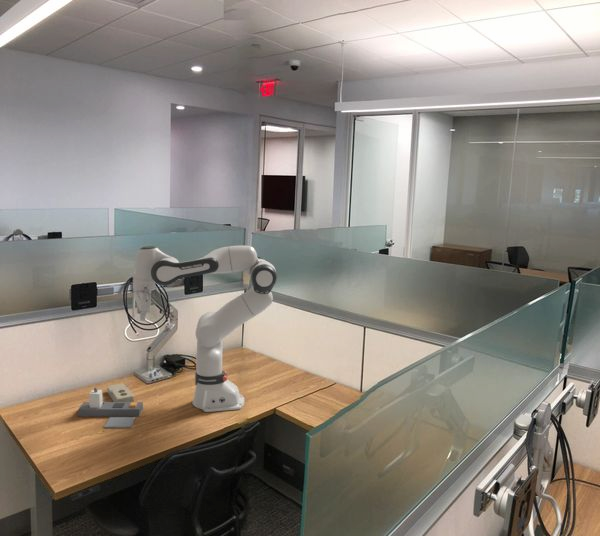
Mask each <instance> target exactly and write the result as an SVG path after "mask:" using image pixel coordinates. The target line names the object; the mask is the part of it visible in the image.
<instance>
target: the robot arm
mask: <svg viewBox="0 0 600 536" xmlns="http://www.w3.org/2000/svg"><path fill="white" fill-rule="evenodd" d="M134 262H135V263H134V268H135V272H134V274H133V282H132V289H133V290H134V301H135V304H136V313H137V314H138V315H139V321H143V322H145V320H146V316H147V313H150V311H151V305H152V291H155V289H156V284H157V285H159V286H162V287H163V286H165V287H166V286H169V285H172V284H173V283H176V282H177V281H178V280H181V279H184V278H190V277H195V276H201V275H214V274H216V275H217V274H218V275H219V274H221V275H222V274H231V273H237V272H246V273H247V274H249V277H250V282H251V284H252V286H251V287H250V288H249V289H248V290H247V291H245V292H243V293H242V294H240V295H238V296H236V297H235V298H233V299H232V300H230V301H228V302H226V303H225V304H224V305H223V306H222V307H220V308H219V309H218V310H217V311H215V312H214V311H209V312H205V313H203V314H202V315H201V316H200V317H199V319H198V320H197V321H198V322H197V325H196V329H195V338H196V341H197V342H196V356H195V357H196V358H195V359H196V360H195V361H196V363H195V364H196V366H195V367H196V369H195V370H196V371H195V373H194V384H195V389H194V394H193V398H192V402H191V403H192V406H194V407H195V408H197V409H200V410H201V411H203V412H205V413H211V412H223V411H235V410H237V411H238V410H240V409H242V408H243V407H244V405H245V397H244V396H243V395H242V394H241V393H240V391H239V387H238V386H237V385H236V384H235V383H234V382H232V381H231V380H229V379H228V374H227V370H225V371H224V370H223V348H224V347H223V346H224V345H223V344H224V339H225V338H226V337H228V336H230V335H231V334H232V332H234V331H235V330H236V329H237V328H239V327H240V326H241V325H243V324H245V323H247V322H248V321H250V320H251V319H254V318H255V317H256V316H258V315H260V314H261V313H262V312H264V311H265V310H266V309H267V308H268V307H269V306H271V305H272V303H273V300H274V296H273V293H272V290H273V288H274V286H275V285H276V282H277V279H278V274H277V271H276V268H275V266H274V265H273V263H272V262H270V261H269V260H268V259H265V258H262V257H259V256H258V253H257V251H256V249H255V248H254V247H253V246H252V245H230V246H224V247H223V246H222V247H219V248H216V249H214V250H212V251H210V252H209V253H208V254H206V255H205V256H203V257H201V258H198V259H192V260H186V261H180V260H178V259H177V257H174V256H171V255H168V254H167V253H164V252H163V251H161V250H160V249H159V248H158V247H157V246H153V245H149V246H148V245H147V246H143V247H141V248H139V249H137V252H136V256H135V261H134Z"/></svg>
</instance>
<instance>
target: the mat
mask: <svg viewBox="0 0 600 536" xmlns="http://www.w3.org/2000/svg"><path fill="white" fill-rule="evenodd" d="M108 418H109V419H108V420H107V422H106V423H105V424H104V427H103V428H104V429H131V428H132V426H133V425H134V422H135V421H134V420H136V419H135V418H136V416H109V417H108Z"/></svg>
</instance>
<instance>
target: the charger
mask: <svg viewBox="0 0 600 536" xmlns="http://www.w3.org/2000/svg"><path fill="white" fill-rule="evenodd" d="M88 395H89V399H88V400H89V401H88V402H89V404H90V408H101V407H102V406H103V402H104V401H103V399H104V398H103V390H102V389H98V387H94V388H93V389H91V391H90V392H89V394H88Z"/></svg>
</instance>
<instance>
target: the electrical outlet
mask: <svg viewBox="0 0 600 536" xmlns="http://www.w3.org/2000/svg"><path fill="white" fill-rule="evenodd" d="M106 392H107V394H108V396H109V397H110V399H111V400H112V402H135V395H134V394H133V393H132V391H131V390H130V389H129V388H128V386H126V385H125V384H124V383H123V382H121V383H116V384H110V385H107V386H106Z"/></svg>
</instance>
